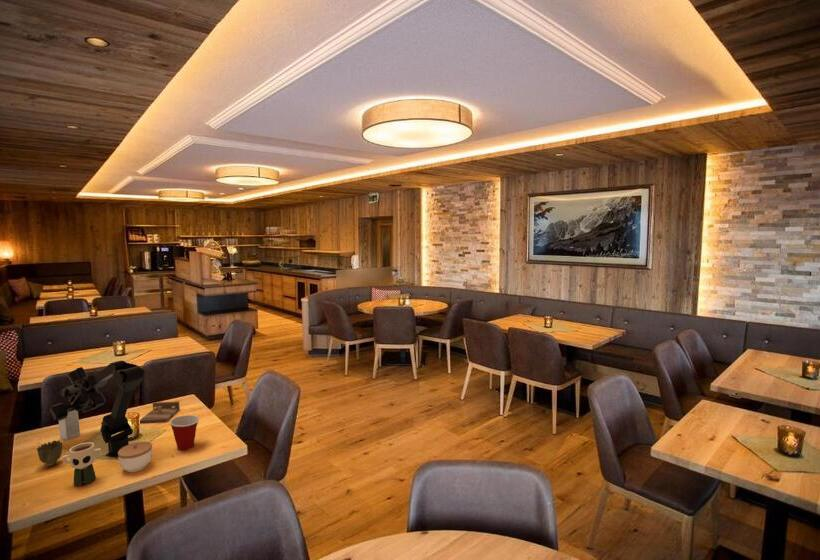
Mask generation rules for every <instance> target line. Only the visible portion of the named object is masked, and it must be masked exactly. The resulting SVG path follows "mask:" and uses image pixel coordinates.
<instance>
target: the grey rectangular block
mask: <svg viewBox="0 0 820 560" xmlns="http://www.w3.org/2000/svg"><path fill="white" fill-rule="evenodd" d="M58 428H59V429H58V430H59V438H60V439H63V440H66V441H68V440H72V439H74V438H77V437H78V436H81V431H80V430H81V429H80V419H79V410H78V411H76V410H74V411H71V412H68V416H67V418H65V419H63V420H61V421H59V420H58Z"/></svg>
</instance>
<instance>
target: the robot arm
mask: <svg viewBox="0 0 820 560" xmlns="http://www.w3.org/2000/svg"><path fill="white" fill-rule="evenodd" d="M67 377H68V379H69V380H70V382H71V385H68V386H66V387H64V388H62V390H61V391H60V396H62V397H63V398H68V400H67V401H68V402H69V403H70V405H67V406H65V404H63V403H62V402H60V403H59V402H58V403H56V404H53V405H51V406H50V407H49V409H48V411H49V413H50V414H51V416H52V418H53V420H54V421H58V422H59V421H61V420H63V419H65V418H67V416H68V412H71V411H74V410H76V411H78V412H79V411H81V410H82V413H87V412H89V411H92V410H95V409H96V408H99V407H101V406H103V405H105V403H106V398H105V397H104V395H103V393H102V392H101V391H98V388H102V387H104V386H105V385H106V384H107V383H108V380H110V379H111V378H112V380H113V381H116V384H117V385H118V389H117V393H116V396H115V399H114V403H113V405H112V409H111V411H110V413H108V414H106V415H104V416H103V417H102V420H101V423H100V425H101V426H100V435H101V437H102V440H103V442H104V443H105V444H107V447H108V449H107V450H108V452H107V453H106V454H105V456H106V457H115V458H116V457H117V458H119V457H118V451H119V450H120V449H121V448H123V447H125V446H127V445H129V436H132V435H133V432H134V431H133V427H132V426H131V425H130V424H129V420H128V418H127V417H126V414H127V413H128V412H127V411H128V408H129V405H130V402H131V399H132V398H133V397H132V396H133V393H134V390H135V389H136V388H137V387H138V386H139V385H140V384H141V383H142V381H143V379H144V377H145V370H144V369H143V368H142V367H140V366H139V365H137V364H136V363H132V362H131V363H129V362H126V361H124V360H117V361H114V362H111V363H109V364H108V365H107V366H105V367H104V368H102V369H100V370H99V371H98V372H96V373H94V374H91V375H88V374H87V372H86V371H85V368H83V367H82V366H80V367H77V368H76V369H74V370H73V371H71V372H69V373H68V374H67Z"/></svg>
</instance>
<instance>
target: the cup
mask: <svg viewBox="0 0 820 560" xmlns="http://www.w3.org/2000/svg"><path fill="white" fill-rule="evenodd" d="M36 452H37V455H38V458H39V461H40V462H41V463H43V464H45V465H44V466H45V467H46V468H47V467H48V468H49V467H54V466H55V465H57V464H58V462H59V461H58V460H59V459H60V458H61V456H62V454H63V453H62V452H63V441H61V442H60V440H52V441H48V442H47V443H45V442H44V443H43V444H41V445H40V446H38V447H36Z"/></svg>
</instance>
